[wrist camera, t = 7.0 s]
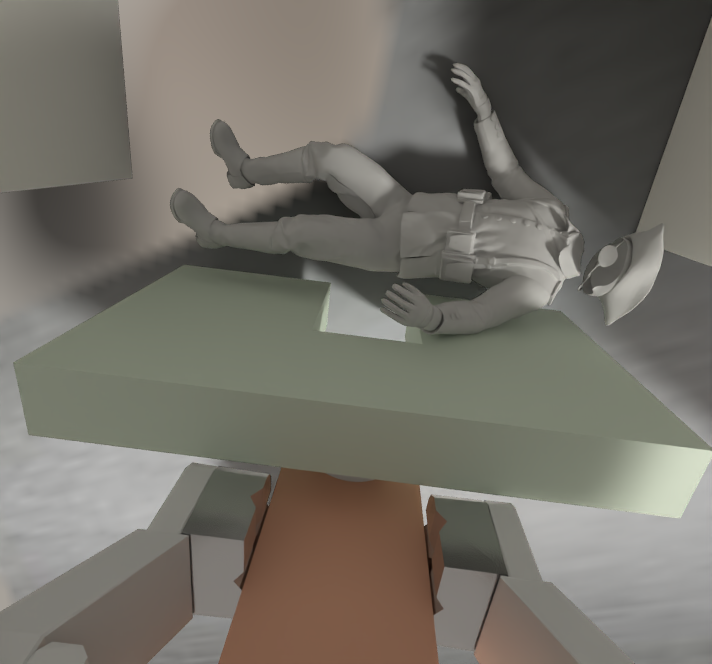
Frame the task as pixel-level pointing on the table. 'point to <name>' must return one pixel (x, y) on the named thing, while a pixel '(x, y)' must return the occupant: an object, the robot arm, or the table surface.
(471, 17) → the table surface
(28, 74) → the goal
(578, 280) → the table surface
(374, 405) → the t-shaped crossbar
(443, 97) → the table surface
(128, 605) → the robot arm
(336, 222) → the soldier figure
